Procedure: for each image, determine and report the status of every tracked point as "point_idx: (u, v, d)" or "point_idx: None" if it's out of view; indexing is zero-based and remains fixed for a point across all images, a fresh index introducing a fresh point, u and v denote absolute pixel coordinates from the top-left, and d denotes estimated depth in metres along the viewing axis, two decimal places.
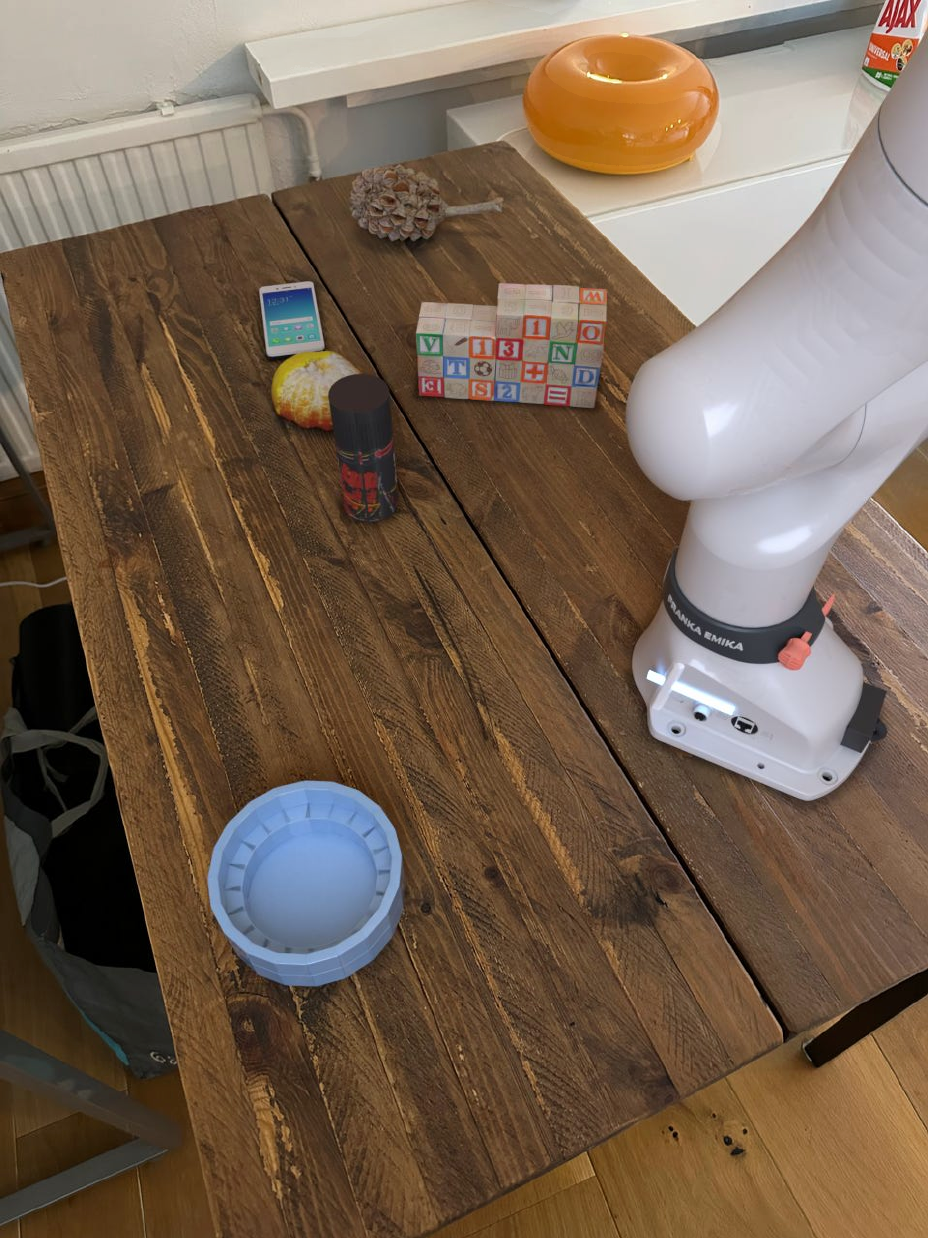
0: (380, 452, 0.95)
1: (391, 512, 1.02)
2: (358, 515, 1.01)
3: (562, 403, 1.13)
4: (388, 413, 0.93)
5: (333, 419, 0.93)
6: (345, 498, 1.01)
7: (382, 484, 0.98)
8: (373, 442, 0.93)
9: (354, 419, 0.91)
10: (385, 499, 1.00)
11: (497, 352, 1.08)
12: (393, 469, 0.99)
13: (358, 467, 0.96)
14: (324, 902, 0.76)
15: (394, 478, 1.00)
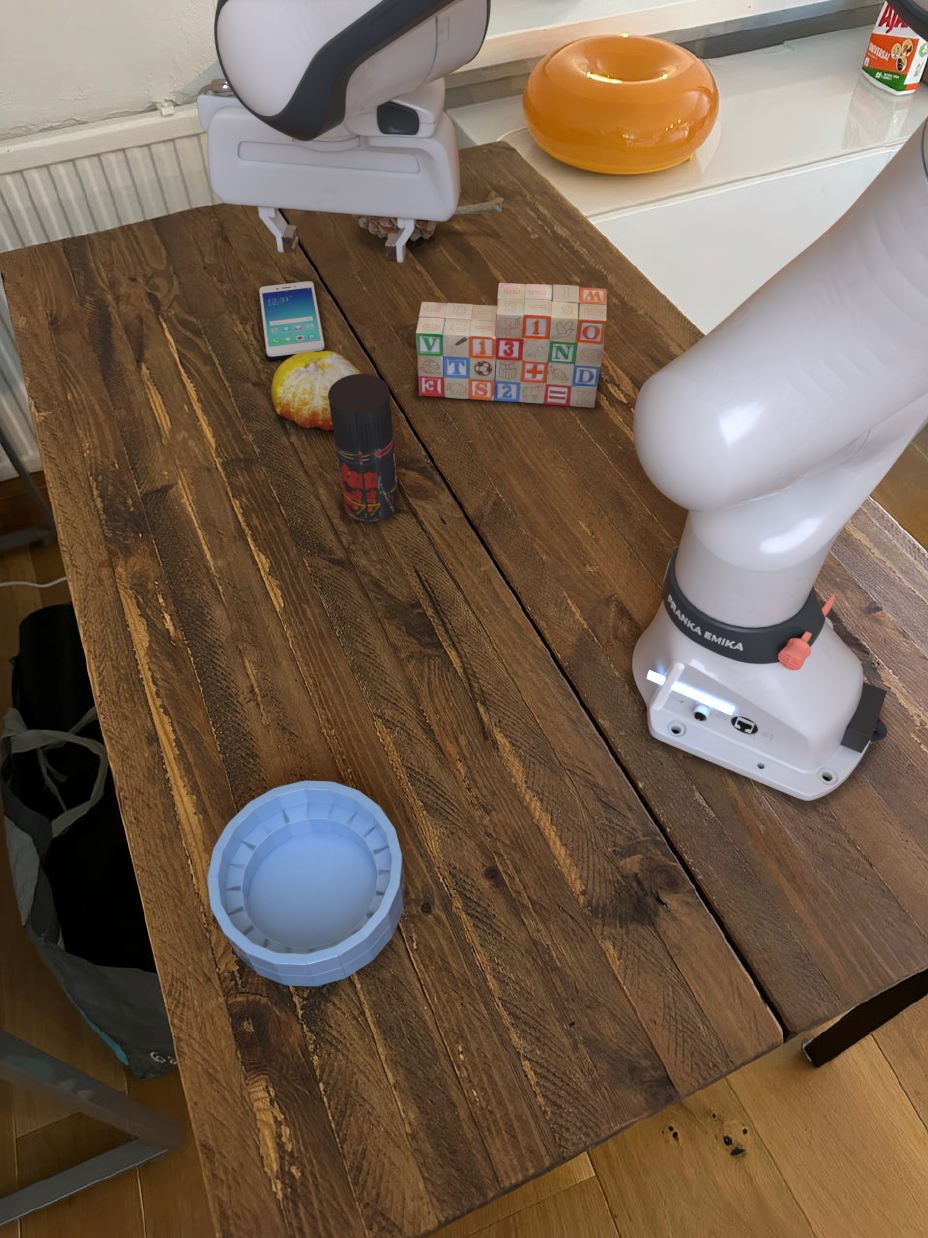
0: (380, 452, 0.95)
1: (391, 512, 1.02)
2: (358, 515, 1.01)
3: (562, 403, 1.13)
4: (388, 413, 0.93)
5: (333, 419, 0.93)
6: (345, 498, 1.01)
7: (382, 484, 0.98)
8: (373, 442, 0.93)
9: (354, 419, 0.91)
10: (385, 499, 1.00)
11: (497, 352, 1.08)
12: (393, 469, 0.99)
13: (358, 467, 0.96)
14: (324, 902, 0.76)
15: (394, 478, 1.00)
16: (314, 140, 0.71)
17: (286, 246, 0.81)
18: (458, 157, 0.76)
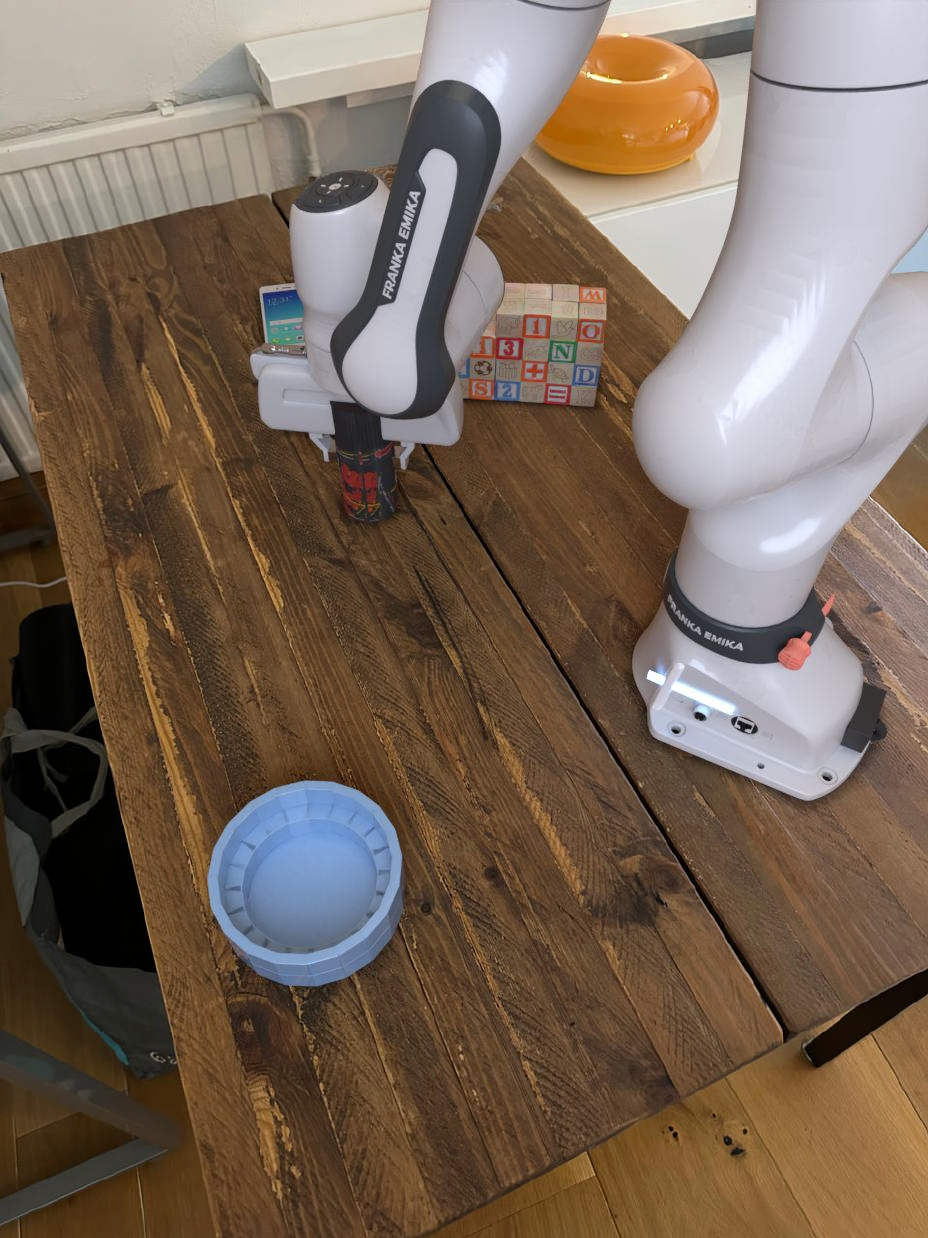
0: (380, 452, 0.95)
1: (391, 512, 1.02)
2: (358, 515, 1.01)
3: (562, 402, 1.13)
4: None
5: (333, 419, 0.93)
6: (345, 498, 1.01)
7: (382, 484, 0.98)
8: (373, 442, 0.93)
9: (353, 419, 0.91)
10: (385, 499, 1.00)
11: (497, 351, 1.08)
12: (393, 469, 0.99)
13: (358, 467, 0.96)
14: (324, 902, 0.76)
15: (394, 478, 1.00)
16: None
17: (331, 458, 0.98)
18: None
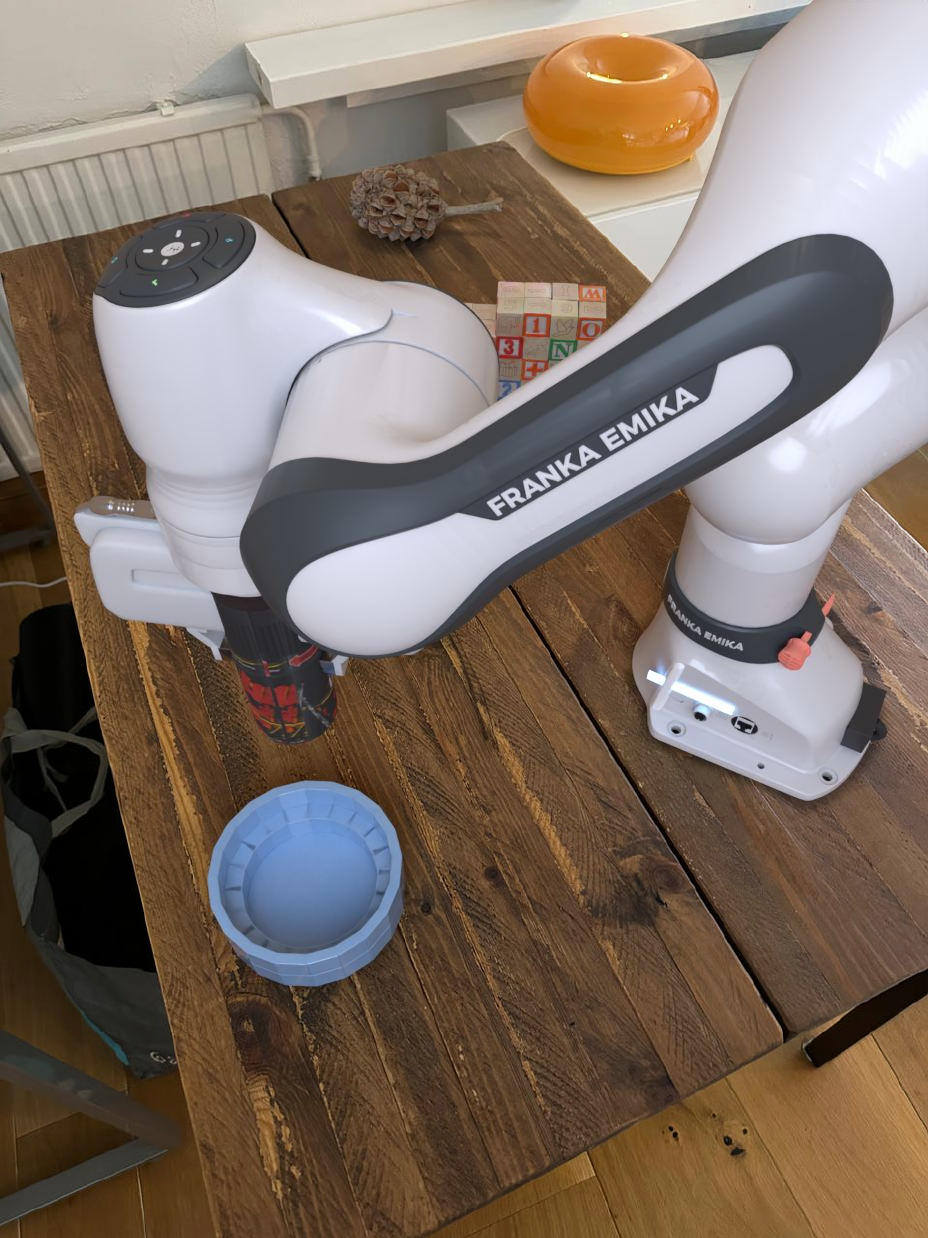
0: (298, 659, 0.58)
1: (324, 728, 0.66)
2: (272, 735, 0.65)
3: None
4: None
5: (218, 612, 0.56)
6: (251, 710, 0.65)
7: (306, 698, 0.62)
8: (285, 648, 0.57)
9: (248, 619, 0.54)
10: (312, 715, 0.64)
11: (497, 350, 1.08)
12: None
13: (264, 680, 0.59)
14: (324, 902, 0.76)
15: (327, 683, 0.63)
16: None
17: (225, 657, 0.62)
18: None
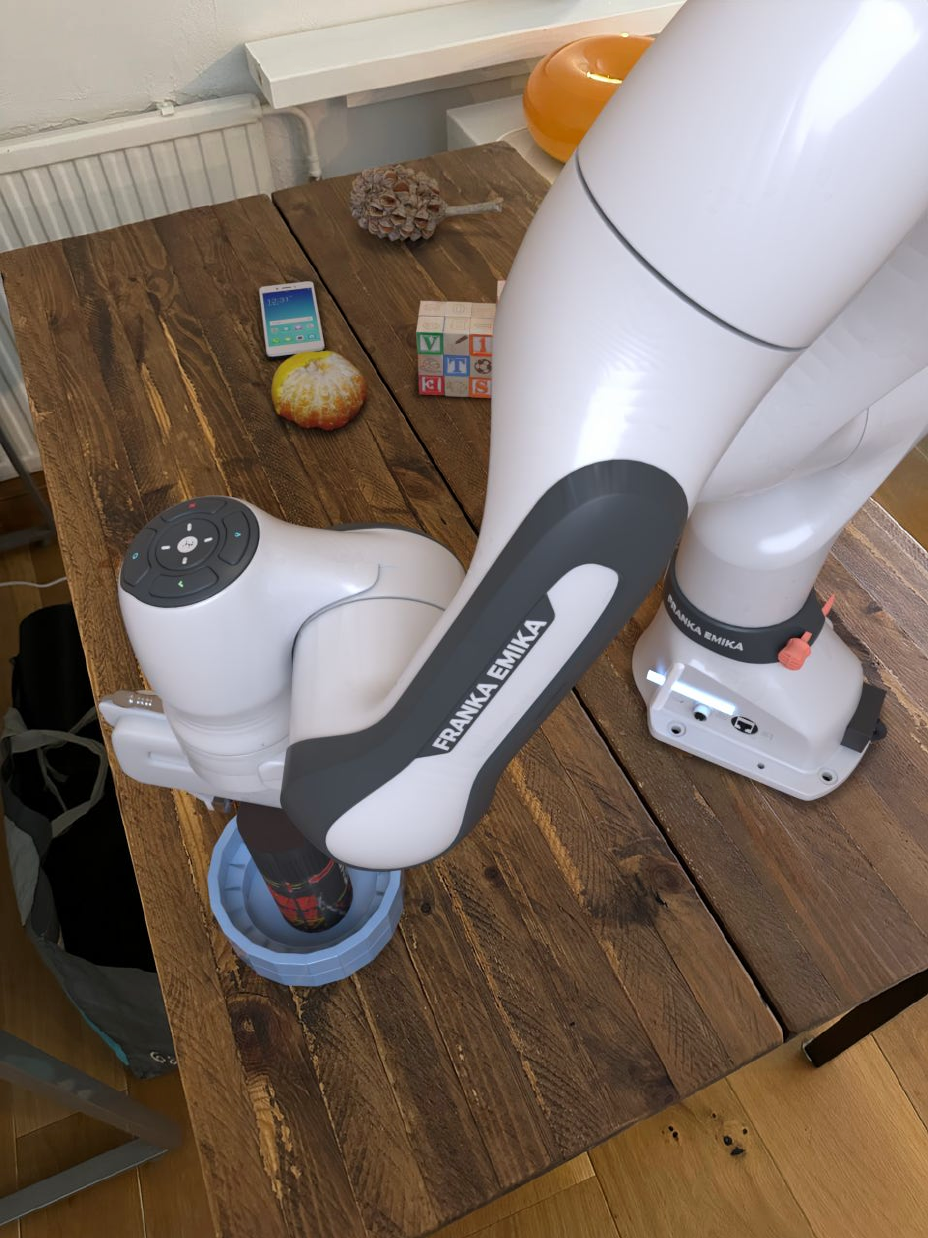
0: (316, 877, 0.67)
1: (342, 917, 0.74)
2: (296, 927, 0.74)
3: None
4: None
5: None
6: None
7: (324, 901, 0.70)
8: (305, 873, 0.65)
9: (272, 858, 0.63)
10: (331, 911, 0.72)
11: None
12: (340, 878, 0.71)
13: (287, 894, 0.68)
14: None
15: (342, 884, 0.72)
16: None
17: (217, 809, 0.68)
18: None
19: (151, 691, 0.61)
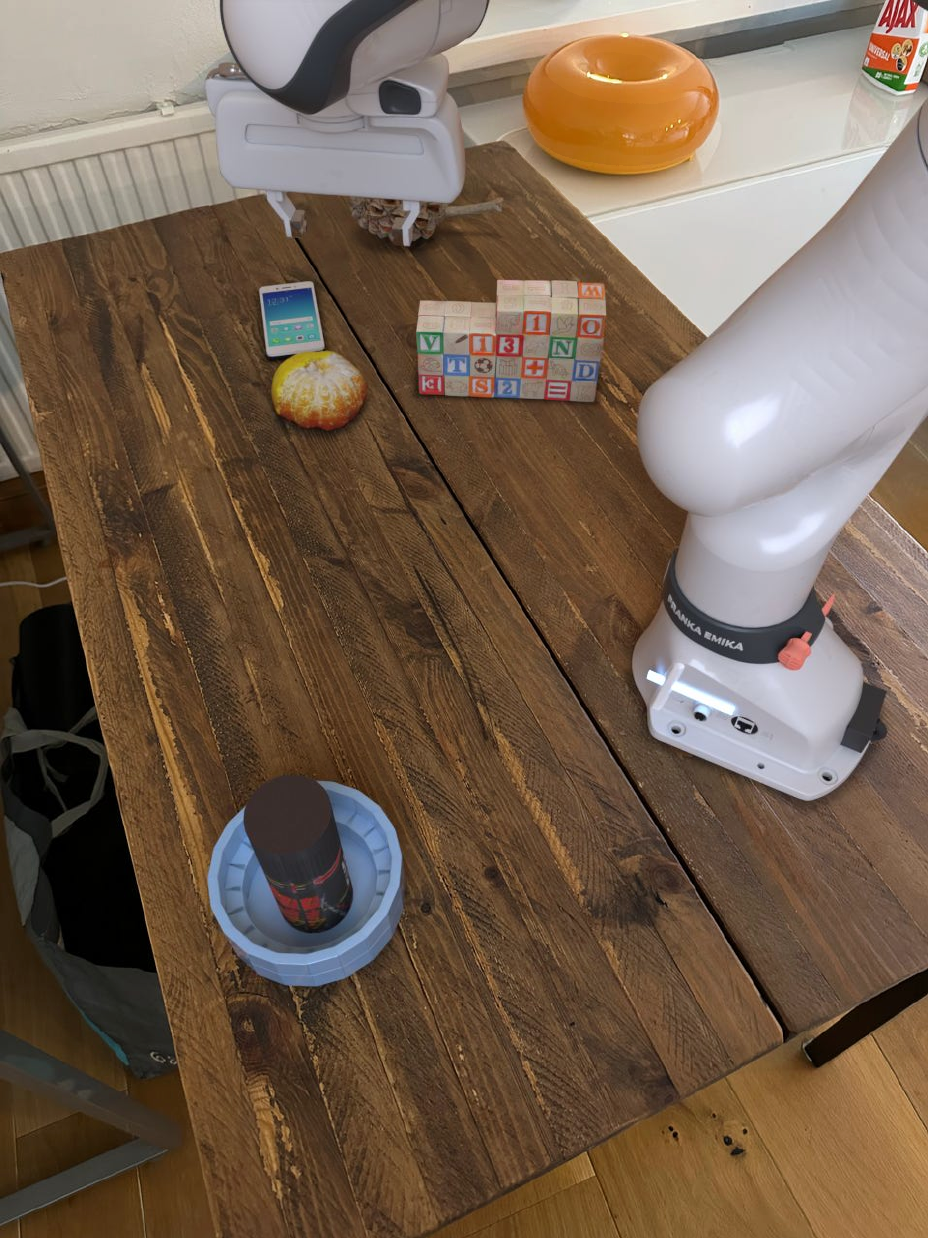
0: (321, 878, 0.67)
1: (342, 918, 0.74)
2: (296, 927, 0.74)
3: (562, 398, 1.14)
4: (331, 836, 0.65)
5: (252, 846, 0.65)
6: (278, 906, 0.73)
7: (327, 902, 0.70)
8: (310, 874, 0.65)
9: (279, 859, 0.63)
10: (332, 912, 0.72)
11: (498, 349, 1.08)
12: (342, 879, 0.71)
13: (291, 894, 0.68)
14: None
15: (344, 885, 0.72)
16: (318, 121, 0.72)
17: (294, 230, 0.82)
18: (463, 139, 0.76)
19: None
